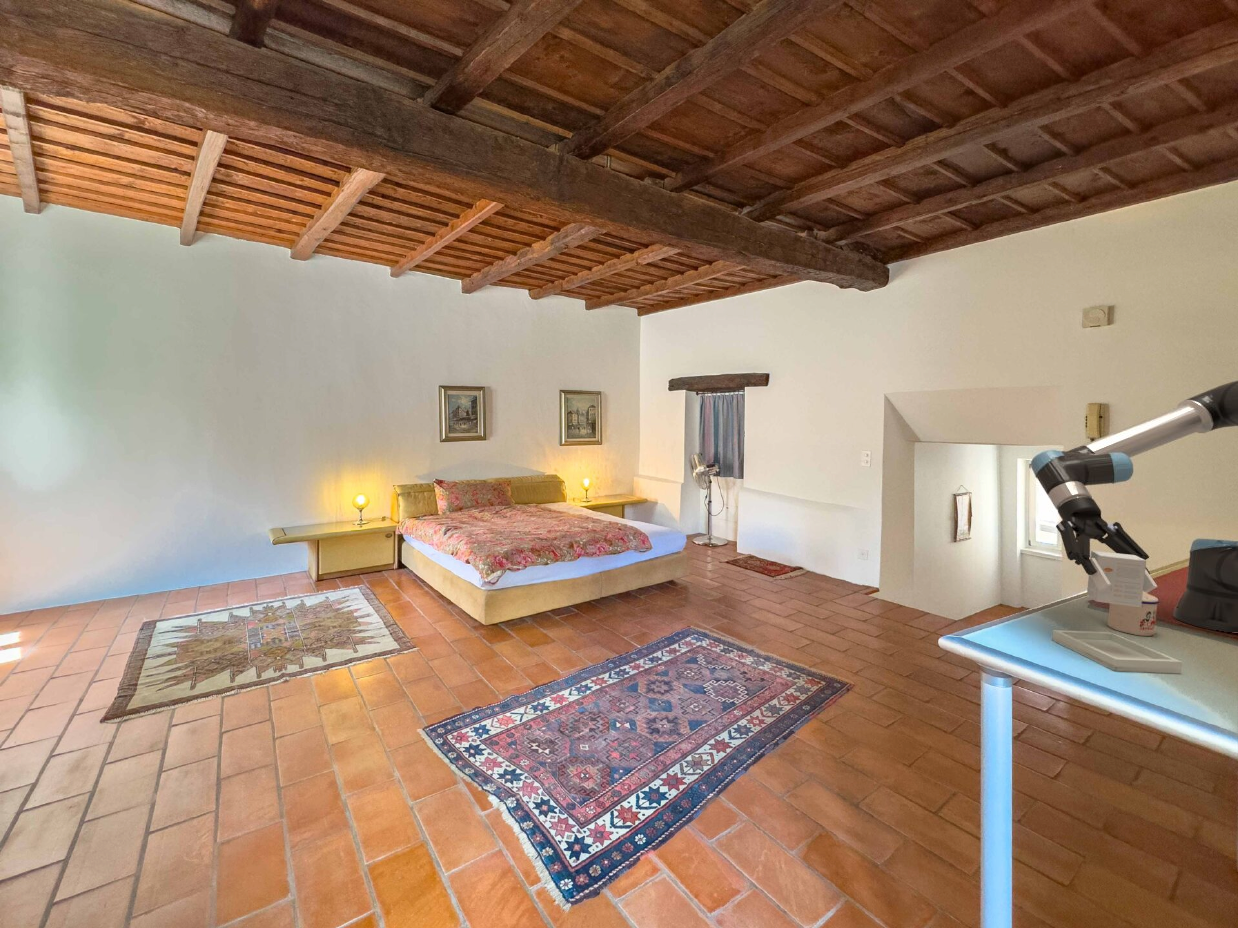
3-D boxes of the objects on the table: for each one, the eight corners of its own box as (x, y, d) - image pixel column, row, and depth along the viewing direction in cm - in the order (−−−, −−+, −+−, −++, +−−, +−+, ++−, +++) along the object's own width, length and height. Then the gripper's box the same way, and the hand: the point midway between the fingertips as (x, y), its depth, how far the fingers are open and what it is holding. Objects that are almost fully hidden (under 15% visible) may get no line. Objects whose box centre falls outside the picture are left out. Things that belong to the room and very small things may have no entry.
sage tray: (1110, 642, 129) (1111, 632, 129) (1180, 673, 113) (1182, 661, 113) (1052, 640, 129) (1053, 629, 128) (1114, 670, 113) (1115, 659, 112)
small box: (1130, 600, 122) (1136, 554, 121) (1141, 608, 117) (1147, 560, 116) (1085, 594, 125) (1090, 549, 125) (1094, 601, 120) (1099, 554, 119)
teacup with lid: (1148, 639, 132) (1153, 592, 131) (1100, 626, 140) (1105, 582, 139) (1164, 631, 138) (1169, 586, 137) (1117, 619, 146) (1122, 577, 145)
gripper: (1108, 515, 135) (1164, 598, 121) (1020, 511, 135) (1066, 594, 120) (1131, 497, 129) (1193, 582, 115) (1039, 493, 129) (1089, 577, 115)
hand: (1127, 588), depth 118 cm, fingers closed on small box, 9 cm apart
